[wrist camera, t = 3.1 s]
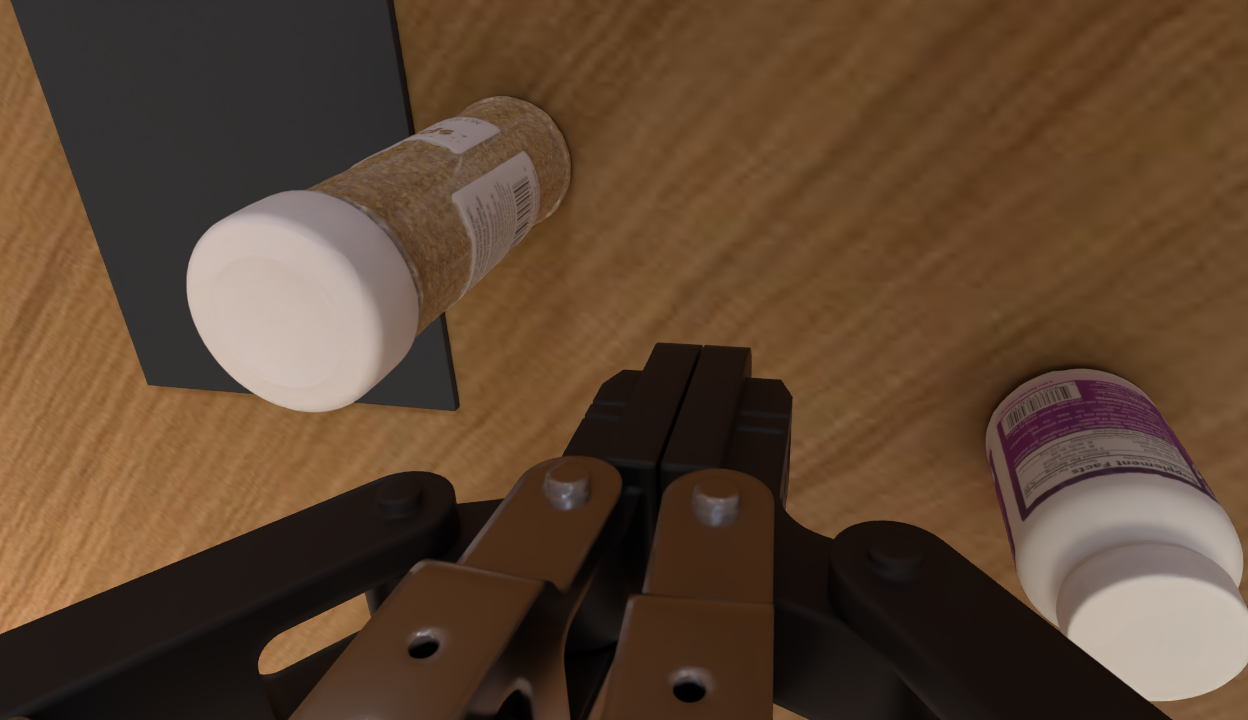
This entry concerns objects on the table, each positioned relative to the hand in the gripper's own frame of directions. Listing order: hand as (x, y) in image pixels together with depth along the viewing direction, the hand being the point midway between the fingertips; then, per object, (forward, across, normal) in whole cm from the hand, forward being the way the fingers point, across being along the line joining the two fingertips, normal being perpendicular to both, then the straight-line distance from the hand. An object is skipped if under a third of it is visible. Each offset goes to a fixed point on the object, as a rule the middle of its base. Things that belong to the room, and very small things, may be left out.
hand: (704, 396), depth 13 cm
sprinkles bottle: (+15, +9, 0) cm, 18 cm away
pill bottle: (+15, -10, +9) cm, 20 cm away
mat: (+15, +20, 0) cm, 25 cm away
